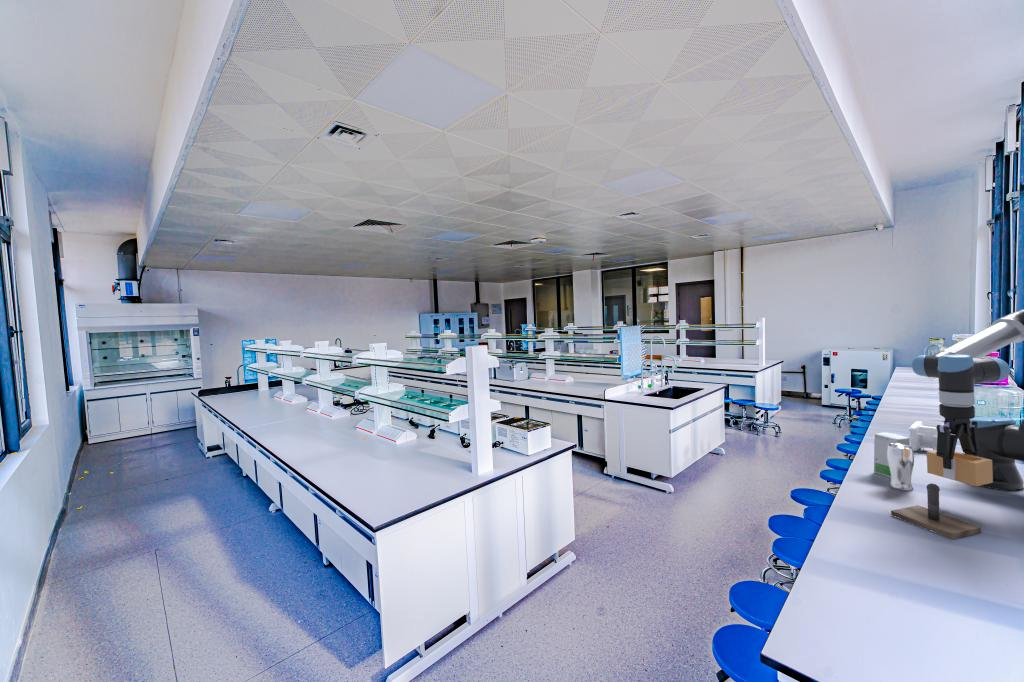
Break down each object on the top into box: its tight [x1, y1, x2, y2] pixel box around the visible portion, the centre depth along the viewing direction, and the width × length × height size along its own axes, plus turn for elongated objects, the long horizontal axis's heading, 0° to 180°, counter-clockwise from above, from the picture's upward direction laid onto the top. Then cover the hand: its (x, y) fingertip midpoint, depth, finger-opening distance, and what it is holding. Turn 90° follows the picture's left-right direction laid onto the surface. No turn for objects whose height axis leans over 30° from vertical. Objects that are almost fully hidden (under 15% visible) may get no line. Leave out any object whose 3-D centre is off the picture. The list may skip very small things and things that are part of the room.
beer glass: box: [887, 443, 915, 492], centre depth 146 cm, size 7×7×15 cm
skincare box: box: [873, 431, 910, 479], centre depth 157 cm, size 8×7×16 cm
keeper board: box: [890, 483, 982, 540], centre depth 121 cm, size 11×15×12 cm
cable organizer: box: [908, 420, 944, 452], centre depth 180 cm, size 15×11×12 cm
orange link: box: [926, 449, 993, 487], centre depth 129 cm, size 12×7×7 cm, turn 13°
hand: (958, 476), depth 129 cm, fingers closed on orange link, 7 cm apart
